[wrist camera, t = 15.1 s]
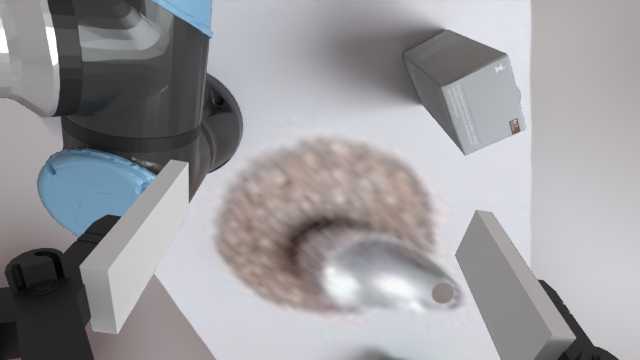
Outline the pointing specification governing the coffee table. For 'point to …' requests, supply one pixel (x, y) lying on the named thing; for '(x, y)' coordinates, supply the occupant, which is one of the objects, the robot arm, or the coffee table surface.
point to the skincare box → (466, 89)
